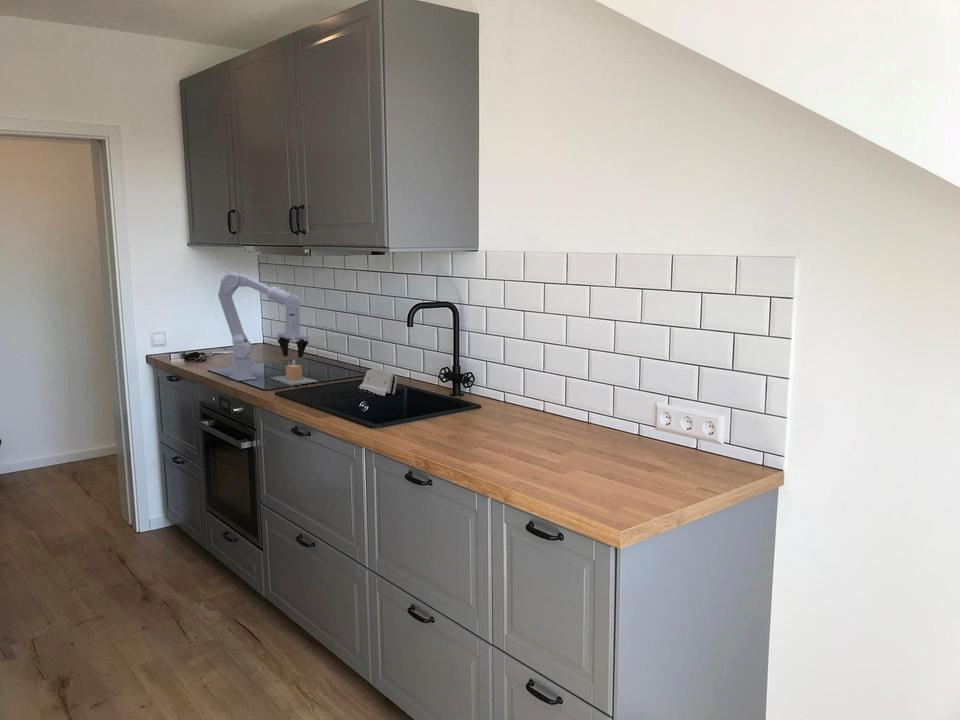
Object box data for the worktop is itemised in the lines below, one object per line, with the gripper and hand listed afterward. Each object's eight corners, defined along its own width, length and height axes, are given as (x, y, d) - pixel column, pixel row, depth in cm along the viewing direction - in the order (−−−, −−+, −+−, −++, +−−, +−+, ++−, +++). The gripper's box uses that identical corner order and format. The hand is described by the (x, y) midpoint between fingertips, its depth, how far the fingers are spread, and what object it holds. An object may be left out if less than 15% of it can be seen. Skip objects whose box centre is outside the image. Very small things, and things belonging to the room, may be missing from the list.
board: (270, 379, 329) (270, 370, 328) (296, 376, 337) (296, 367, 336) (291, 386, 316) (291, 376, 315) (318, 383, 324) (318, 373, 323)
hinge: (357, 389, 313) (364, 365, 314) (366, 392, 317) (373, 367, 318) (384, 395, 302) (391, 370, 303) (393, 398, 305) (400, 373, 306)
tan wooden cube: (285, 379, 326) (285, 365, 325) (294, 377, 329) (294, 364, 329) (292, 380, 323) (292, 367, 322) (302, 379, 327) (301, 365, 326)
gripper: (272, 324, 328) (272, 356, 330) (301, 326, 322) (301, 359, 324) (283, 322, 334) (283, 354, 336) (311, 324, 328) (311, 357, 330)
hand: (293, 356), depth 330 cm, fingers open, 7 cm apart
